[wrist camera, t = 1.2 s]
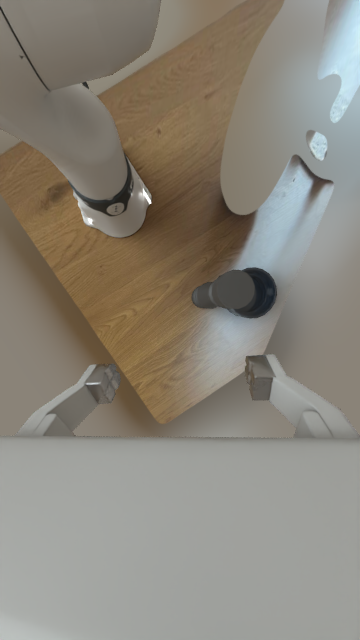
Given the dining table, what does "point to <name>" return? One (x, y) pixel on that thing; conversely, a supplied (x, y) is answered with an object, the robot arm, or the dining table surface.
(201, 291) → the candle holder
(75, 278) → the dining table surface
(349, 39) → the dining table surface
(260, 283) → the bowl
